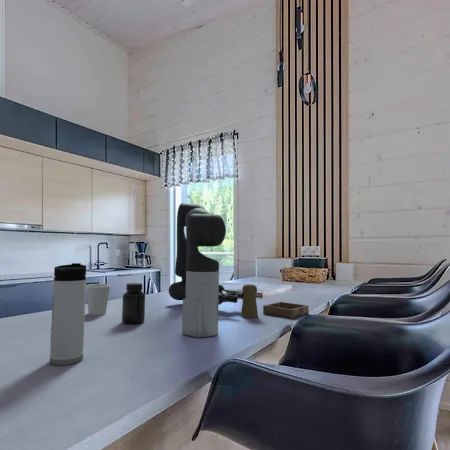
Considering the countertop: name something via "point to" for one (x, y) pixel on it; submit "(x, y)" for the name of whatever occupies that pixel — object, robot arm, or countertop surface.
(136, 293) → the supplement bottle
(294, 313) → the box
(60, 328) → the travel mug
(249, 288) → the cork
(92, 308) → the dixie cup
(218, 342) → the countertop surface
